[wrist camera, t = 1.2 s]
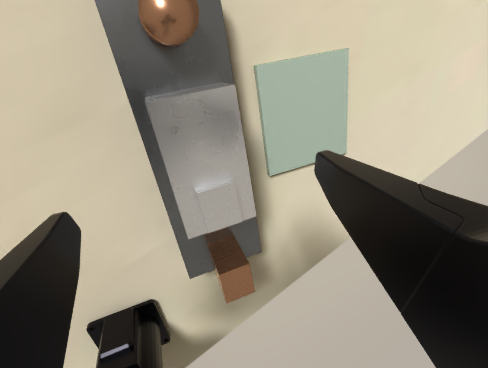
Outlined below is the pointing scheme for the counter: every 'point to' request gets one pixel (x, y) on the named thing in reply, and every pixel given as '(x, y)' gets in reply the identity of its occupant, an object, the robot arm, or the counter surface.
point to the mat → (303, 108)
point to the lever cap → (204, 155)
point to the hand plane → (174, 79)
